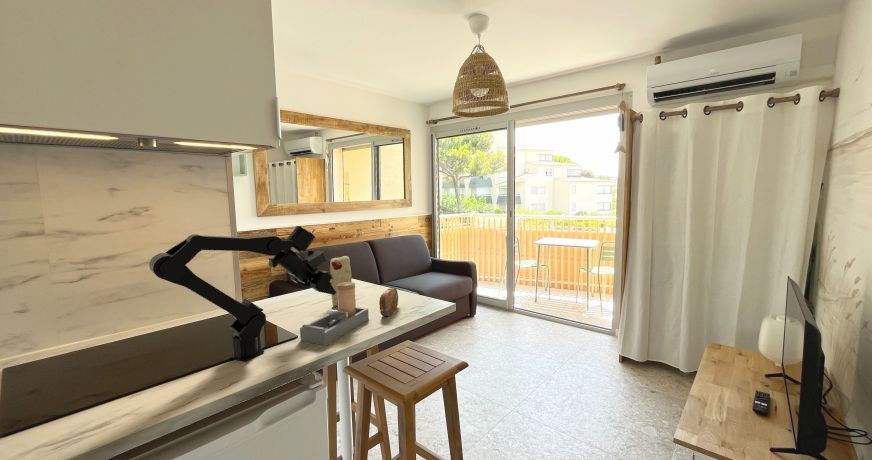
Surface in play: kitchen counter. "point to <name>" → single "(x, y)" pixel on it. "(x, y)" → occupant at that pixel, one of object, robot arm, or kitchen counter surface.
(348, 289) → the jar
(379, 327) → the kitchen counter surface
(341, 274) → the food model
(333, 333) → the grey tray
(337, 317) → the pusher
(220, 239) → the robot arm
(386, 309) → the brown flat rounded slab
